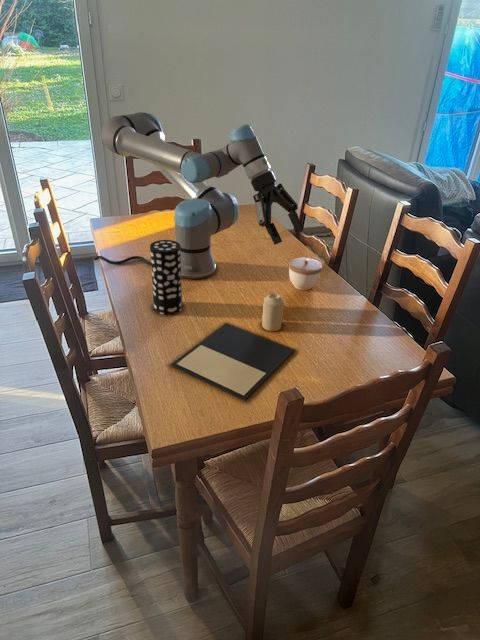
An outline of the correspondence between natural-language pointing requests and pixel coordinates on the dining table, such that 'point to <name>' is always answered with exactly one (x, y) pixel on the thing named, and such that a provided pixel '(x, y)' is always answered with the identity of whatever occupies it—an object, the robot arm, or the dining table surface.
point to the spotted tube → (166, 276)
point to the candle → (272, 312)
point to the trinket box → (304, 272)
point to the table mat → (233, 360)
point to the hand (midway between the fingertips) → (289, 236)
